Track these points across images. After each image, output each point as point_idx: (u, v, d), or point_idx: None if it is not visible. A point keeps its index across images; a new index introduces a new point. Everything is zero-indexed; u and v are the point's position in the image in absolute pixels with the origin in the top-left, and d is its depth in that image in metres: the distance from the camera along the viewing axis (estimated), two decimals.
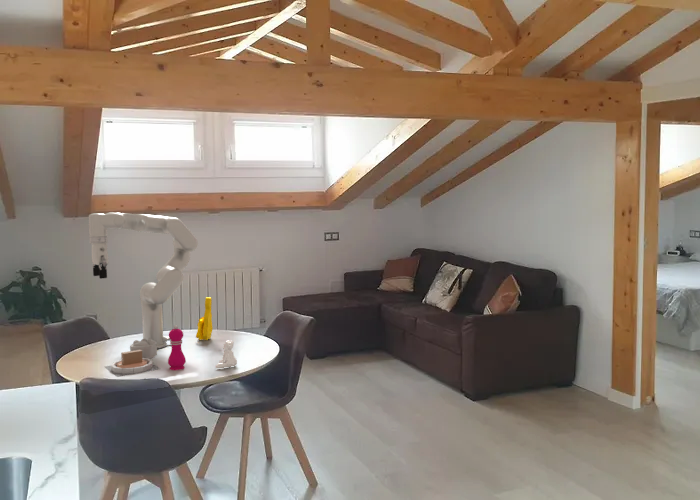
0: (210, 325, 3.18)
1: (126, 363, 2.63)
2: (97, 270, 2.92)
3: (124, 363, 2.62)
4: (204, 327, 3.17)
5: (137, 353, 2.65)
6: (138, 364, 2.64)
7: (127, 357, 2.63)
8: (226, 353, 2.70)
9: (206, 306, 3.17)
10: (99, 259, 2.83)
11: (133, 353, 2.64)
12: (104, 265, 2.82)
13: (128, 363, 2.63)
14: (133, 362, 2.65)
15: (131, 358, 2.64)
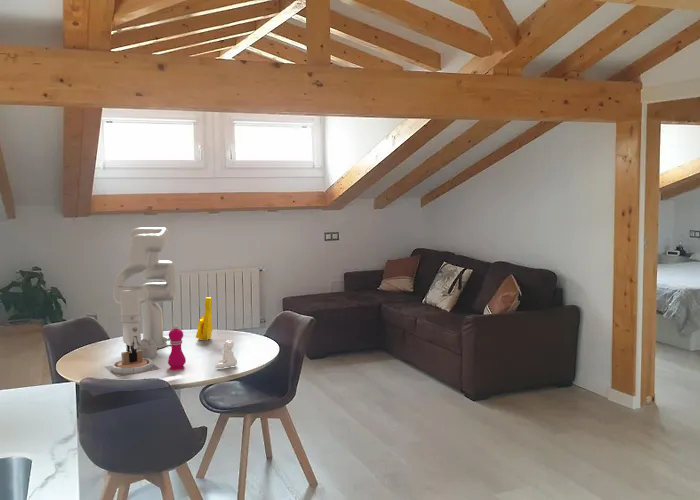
0: (210, 325, 3.18)
1: (126, 363, 2.63)
2: None
3: (124, 363, 2.62)
4: (204, 327, 3.17)
5: (137, 353, 2.65)
6: (138, 364, 2.64)
7: (127, 357, 2.63)
8: (226, 353, 2.70)
9: (206, 306, 3.17)
10: (131, 344, 2.60)
11: None
12: None
13: (128, 363, 2.63)
14: (133, 362, 2.65)
15: None
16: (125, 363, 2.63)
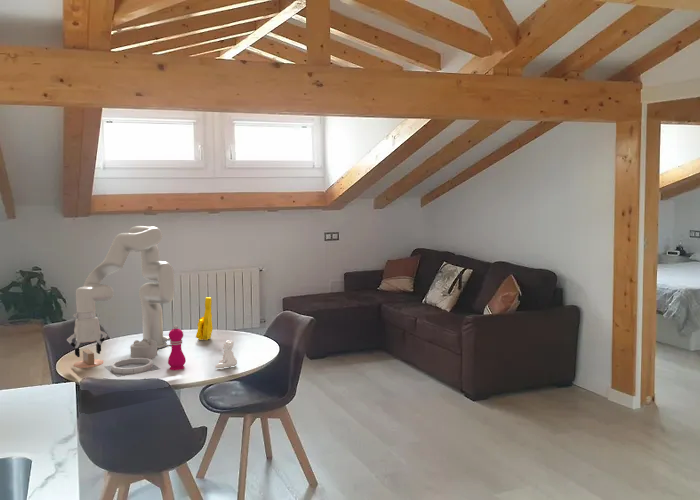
0: (210, 325, 3.18)
1: (83, 360, 2.73)
2: (97, 347, 2.74)
3: (83, 359, 2.74)
4: (204, 327, 3.17)
5: (86, 355, 2.69)
6: (81, 365, 2.69)
7: (83, 355, 2.73)
8: (226, 353, 2.70)
9: (206, 306, 3.17)
10: None
11: (85, 353, 2.71)
12: (70, 343, 2.67)
13: (84, 361, 2.73)
14: (85, 362, 2.71)
15: (85, 357, 2.72)
16: (83, 360, 2.74)
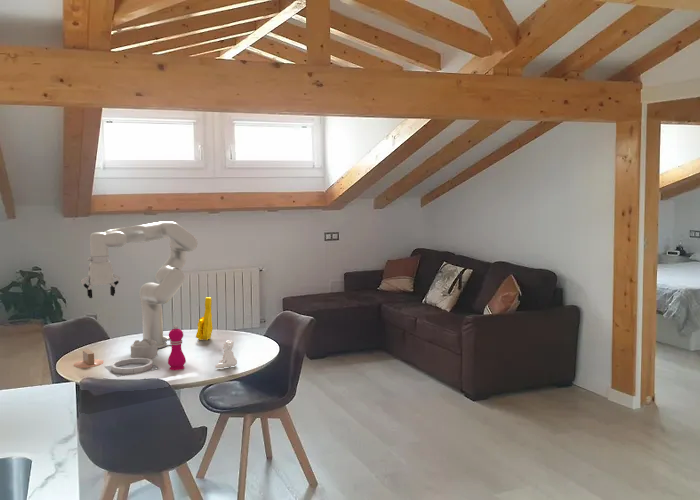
0: (210, 325, 3.18)
1: (83, 360, 2.73)
2: (111, 290, 2.87)
3: (83, 359, 2.74)
4: (204, 327, 3.17)
5: (86, 355, 2.69)
6: (81, 365, 2.69)
7: (83, 355, 2.73)
8: (226, 353, 2.70)
9: (206, 306, 3.17)
10: None
11: (85, 353, 2.71)
12: (83, 285, 2.79)
13: (84, 361, 2.73)
14: (85, 362, 2.71)
15: (85, 357, 2.72)
16: (83, 360, 2.74)
